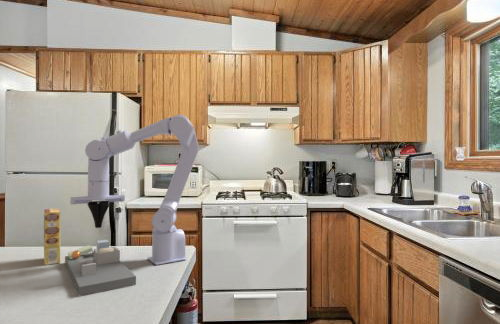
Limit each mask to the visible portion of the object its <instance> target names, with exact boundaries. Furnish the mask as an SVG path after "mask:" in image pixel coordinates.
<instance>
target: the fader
mask: <svg viewBox="0 0 500 324" xmlns="http://www.w3.org/2000/svg"><path fill="white" fill-rule="evenodd" d="M108 247H110V241H109V240H107V239H101V240H96V249H101V248H108Z"/></svg>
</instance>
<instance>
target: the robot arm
mask: <svg viewBox="0 0 500 324" xmlns="http://www.w3.org/2000/svg"><path fill="white" fill-rule="evenodd" d="M172 134H173V136H174V137H176V138H177V140H178V142H179V144H180V146H181V149H182V151H181V154H180V156H179V159H178V162H177V164H176V167H175V168H174V169H175V170H174V172H173V174H172V178H171V180H170V182H169V186H168V188H167V190H166V192H165V196H164V198H163V199H162V202H161V204H160V205H159V209H158V210H157V211H156V212H155V213H154V214H153V216H152V217H151V225H152V227H153V228H152V229H151V230H152V231H151V233H152V235H151V236H152V237H151V238H152V239H151V241H152V242H151V244H152V245H151V254H152V255H151V256H148V257H147V260H149V261H150V262H151V263H153V264H154V265H156V266H158V265H163V264H164V265H165V264H170V263H176V262H181V261H186V260H187V257H186V236H185V232H184V230H183V229H179V228H178V227H176V225H175V223H176V221H177V217H178V216H177V215H178V214H177V209H178V207H179V203H180V201H181V198H182V195H183V193H184V190H185V187H186V185H187V182H188V180H189V178H190V175H191V172H192V170H193V167H194V163H195V161H196V159H197V156H198V153H199V151H200V147H199V143H198V138H197V134H196V130H195V127H194V125H193V123H192V122H191V121H190V120H189V118H188V117H187V116H185V115H184V114H176V115H173V116H172V117H171V116H170V117H165V118H162V119H160V120H158V121H156V122H153V123H151V124H149V125H146V126H144V127H141V128H139V129H137V130H135V131H133V132H130V131H127V130H124V131H122V130H117V131H116V133H115V134H112V135H110V136H107V137H106V136H102V137H101V138H100V139H101V140H99V139H93V140H91V141H90V142H89V143H87V144H86V145H85V149H84V152H85V154H86V157H87V158H88V159H87V160H88V161H87V162H88V164H87V195H86V196H70V200H69V201H70V203H69V204H70V205H71V206H72V205H78V204H79V205H82V204H87V207H88V208H89V211H90V213H91V216H92V218H93V222H94V228H95V229H101V228H102V226H103V221H104V218H105V215H106V213H107V211H108V208H109V206H110V203H114V202H116V203H117V202H118V203H119V202H121V203H123V202H126V200H125V198H126V197H125V195H124V194H113V195H112V194H110V158H111V157H113V156H116V155H119V154H122V153H125V152H127V151H129V150H131V149H134V147H135V145H136V143H138V142H142V141H144V140H147V139H150V138H154V137H156V136H158V135H165V136H172ZM177 228H178V229H177Z"/></svg>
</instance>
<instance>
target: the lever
mask: <svg viewBox="0 0 500 324" xmlns="http://www.w3.org/2000/svg"><path fill="white" fill-rule="evenodd" d="M73 251H74V250H73ZM72 258H73V259H77V260H78V261H79V263H80V264H81V265H85V264H87V263H86V262H85V261H84V260H83V259H82V257H81V253H80V252H79V251H74V252H73V253H72Z"/></svg>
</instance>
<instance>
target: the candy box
mask: <svg viewBox="0 0 500 324" xmlns="http://www.w3.org/2000/svg"><path fill="white" fill-rule="evenodd" d="M43 212H44V214H43V255H44V256H43V260H44V261H43V262H44V263H43V264H44V266H49V265H54V264H61V210H60V208H47V209H44V210H43Z"/></svg>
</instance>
